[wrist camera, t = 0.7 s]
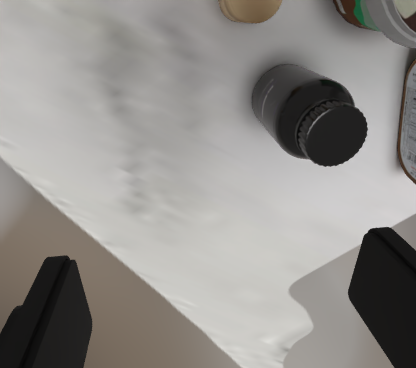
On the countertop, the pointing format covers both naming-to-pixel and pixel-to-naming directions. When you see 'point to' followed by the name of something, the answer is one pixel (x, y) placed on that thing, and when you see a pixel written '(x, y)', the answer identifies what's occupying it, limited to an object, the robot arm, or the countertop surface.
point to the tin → (408, 125)
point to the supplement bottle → (309, 115)
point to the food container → (383, 17)
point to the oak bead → (249, 10)
